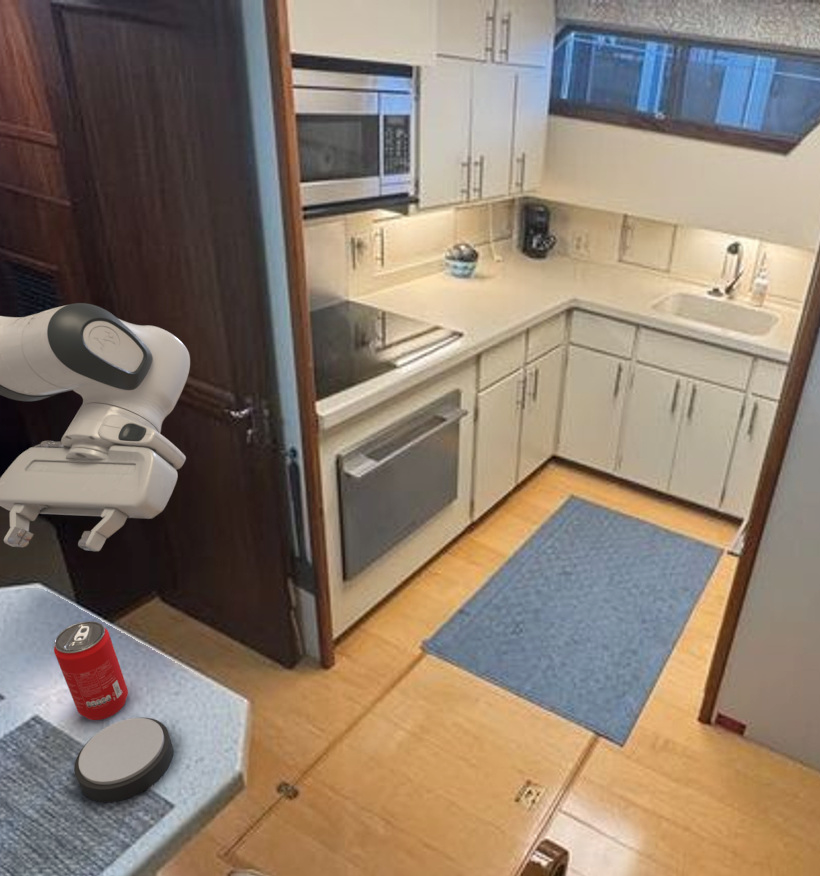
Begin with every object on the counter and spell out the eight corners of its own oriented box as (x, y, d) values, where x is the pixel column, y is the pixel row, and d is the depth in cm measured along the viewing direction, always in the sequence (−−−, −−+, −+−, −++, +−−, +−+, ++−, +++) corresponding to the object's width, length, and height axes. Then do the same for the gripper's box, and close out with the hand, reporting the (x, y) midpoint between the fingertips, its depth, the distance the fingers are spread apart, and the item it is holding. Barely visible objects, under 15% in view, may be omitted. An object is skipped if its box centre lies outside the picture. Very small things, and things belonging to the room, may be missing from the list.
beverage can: (72, 726, 82) (43, 656, 76) (87, 690, 86) (61, 621, 80) (122, 720, 84) (98, 651, 78) (135, 685, 88) (113, 617, 82)
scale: (71, 757, 79) (64, 741, 77) (160, 717, 85) (155, 701, 83) (89, 818, 74) (82, 802, 72) (183, 771, 79) (178, 755, 78)
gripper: (14, 426, 84) (-55, 531, 76) (166, 430, 81) (111, 539, 73) (54, 453, 89) (-7, 553, 81) (198, 458, 86) (149, 562, 79)
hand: (50, 547), depth 77 cm, fingers open, 8 cm apart
